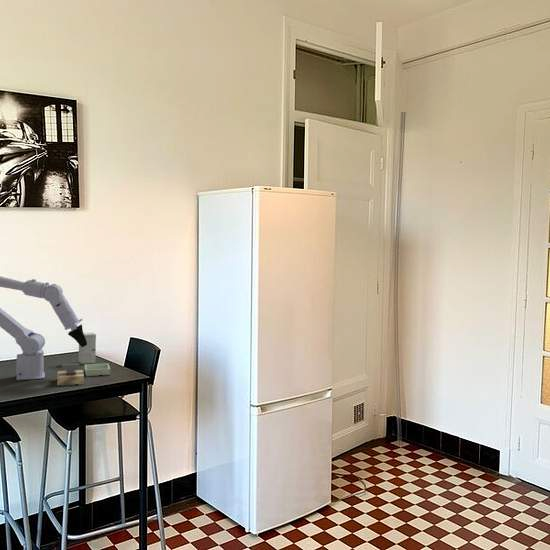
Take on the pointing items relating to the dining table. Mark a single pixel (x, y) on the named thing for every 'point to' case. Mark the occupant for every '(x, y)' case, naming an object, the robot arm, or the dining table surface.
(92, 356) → the skincare box
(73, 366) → the t key
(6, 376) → the dining table surface
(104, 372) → the tray
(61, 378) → the key block
